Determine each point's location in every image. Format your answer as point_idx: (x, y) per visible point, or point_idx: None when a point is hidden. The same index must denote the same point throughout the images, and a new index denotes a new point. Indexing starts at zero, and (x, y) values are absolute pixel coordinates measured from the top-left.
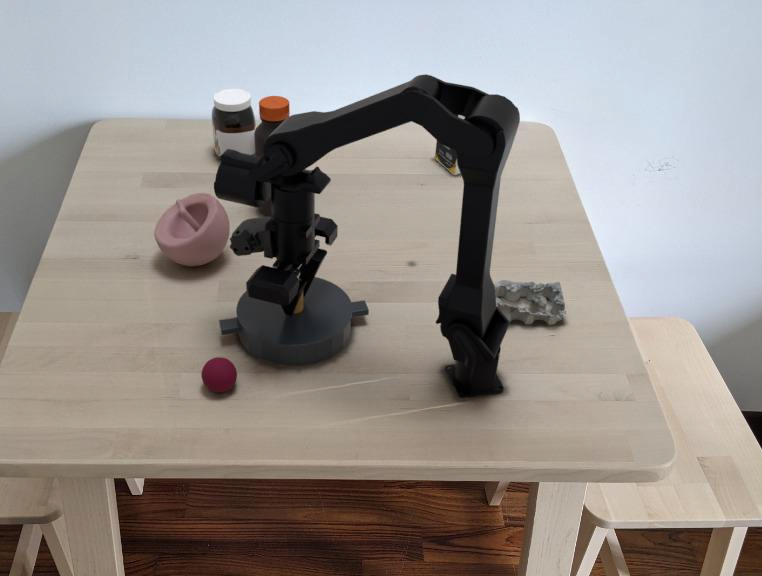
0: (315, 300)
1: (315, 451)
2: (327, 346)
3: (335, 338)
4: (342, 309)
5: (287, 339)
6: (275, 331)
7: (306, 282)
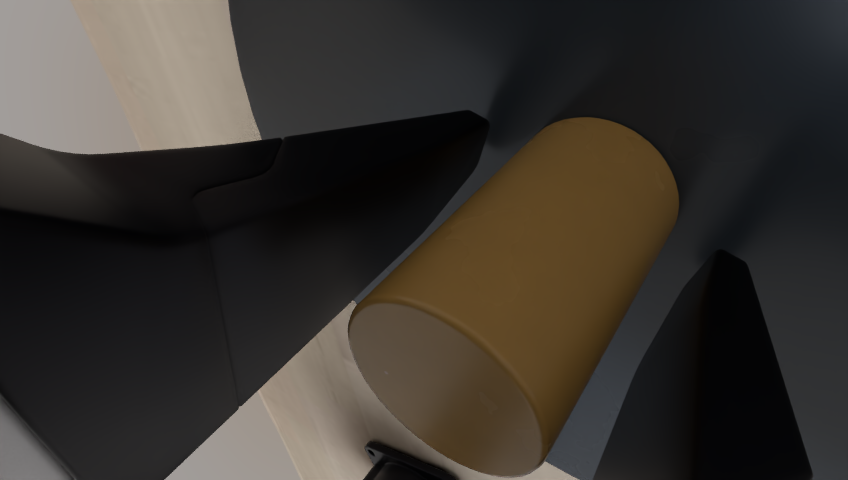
0: None
1: (134, 105)
2: None
3: None
4: (575, 441)
5: (279, 97)
6: (313, 18)
7: (609, 469)
